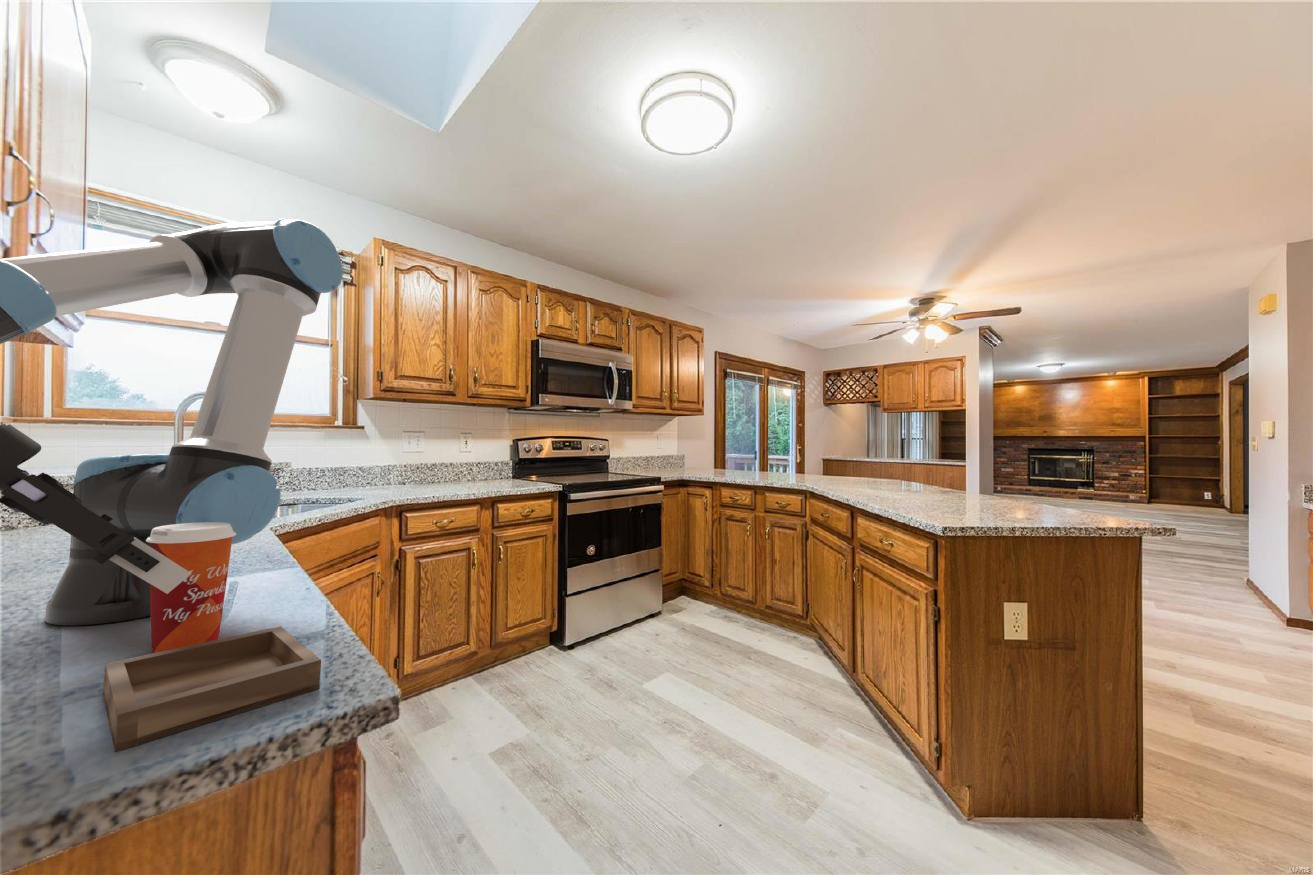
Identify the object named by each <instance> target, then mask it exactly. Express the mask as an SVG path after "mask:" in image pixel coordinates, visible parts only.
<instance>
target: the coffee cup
mask: <svg viewBox="0 0 1313 875" xmlns="http://www.w3.org/2000/svg"><path fill="white" fill-rule="evenodd" d="M235 535H236V533H235V532H234V531H233V528H232V527H231V525H230V523H223V522H198V523H183V524H172V525H165V526H159V527H155V528H153V529H152V531H151V535H150V537H148V538H147V540H146V542H149V543H150V547H151V548H153V549H154V550H156V551H157V552H159V553H160V554H162V555H164V556H165V557H167V558H168V559H170V560H171V561H173V562H175V563H176V564H178V565H179V566H181V567H182V568H184V569H186V570H187V571H189V572H190V573H192V574H190V575H189V576H188V577H187V578H186V579H185V580H183V581H182V582H181V583H180V584H179V585H177V586H176V587H175V588H174V589H173V590H171V591H170V592H169V593H168V594H167V593H165V592H163V591H162V590H160V589H158V588H156V587H155V586H153V585H151V584H150V603H151V616H150V639H151V640H150V641H151V652H152V654H153V653H157V652H162V651H167V650H171V649H176V648H181V647H186V646H190V645H195V644H200V643H204V642H209V641H214V640H219V637H220V632H221V631H220V629H221V624H222V618H223V617H222V616H223V610H224V603H225V595H226V589H227V588H226V587H227V582H228V574H229V567H230V560H231V559H230V557H231V551H232V545H233V544H232V537H233V536H235Z"/></svg>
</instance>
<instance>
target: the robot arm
mask: <svg viewBox="0 0 1313 875" xmlns="http://www.w3.org/2000/svg"><path fill="white" fill-rule="evenodd" d="M343 269H344V268H343V263H342V259H341V257H340V254H339V253H338V251H337V247H336V246H335V244H334V243H333V241H332V240H331V239H330V237H329V236H328V235H327V234H326V233H325V232H324V231H323V230H322V229H320V227H319V226H317V225H315V224H313V223H311V222H308V221H305V220H302V219H301V220H300V219H288V218H279V219H277V220H274V221H273V220H271V221H270V220H269V221H243V222H241V221H240V222H227V223H221V224H215V225H209V226H205V227H201V228H197V229H191V230H186V231H181V232H175V233H168V234H158V235H155V236H154V237H152V238H151V239H150V240H149V242H148V243H140V244H128V245H120V246H112V247H110V246H109V247H101V248H93V249H92V248H91V249H83V250H82V249H81V250H72V251H71V250H69V251H63V252H54V253H53V252H52V253H43V254H34V255H33V254H31V255H23V256H14V257H5V258H0V345H2V344H4V343H6V342H9V341H11V340H13V339H17V338H19V337H21V336H23V335H24V336H27V335H30V334H31V332H33V331H35V330H37V329H39V328H40V327H42V326H44V325H46V324H48V323H50V322H52V321H53V320H54V319H55V318H56V317H59V316H60V317H61V316H65V315H70V314H75V313H80V312H86V311H90V310H96V309H101V308H102V309H103V308H107V307H113V306H117V305H122V304H123V305H124V304H128V303H132V302H137V301H143V300H148V299H154V298H159V297H165V296H169V295H174V294H175V295H176V294H178V295H181V296H182V297H187V298H192V297H193V298H194V297H199V296H203V295H213V294H215V295H216V294H217V295H218V294H236V295H237V296H238V297H237V300H236V301H235V305H234V308H233V311H232V313H231V314H232V315H231V317H230V320H229V322H228V326H227V328H226V331H225V335H224V337H223V339H222V340H223V341H222V343H221V346H220V349H219V352H218V355H217V358H216V360H215V363H214V366H213V369H212V372H211V375H210V379H209V381H208V384H207V386H206V390H205V392H204V396H203V398H202V401H201V404H200V407H199V410H198V414H197V416H196V420H195V422H194V425H193V428H192V430H191V434H190V436H189V437H188V438H186V439H183V440H181V441H179V442H177V443H173V444H172V446H171V448H170V451H169V453H152V454H151V453H149V454H148V453H147V454H146V453H145V454H129V455H108V456H99V457H94V458H93V457H92V458H89V459H86V460H84V461H82V462H81V463H79V464H78V465H77V467H76V472H75V475H74V480H73V483H72V489H73V493H72V492H71V491H69V489H67V488H65V487H64V484H63V483H62V482H61V481H59V480H57V478H54V477H52V476H51V475H49V474H48V473H46V472H41V473H39V474H38V475H36V474H33V473H32V474H30V472H28V471H27V470H25V469H24V470H23V469H21V468H19V467H18V466H20V465H21V464H24V463H26V462H27V461H29V460H30V459H32V458H34V457H35V456H36V455H37V454H38V453H40V451H41V450H42V446H41V444H40V443H38V442H37V441H35V440H34V439H32V438H31V437H29V436H28V435H27V434H25V433H24V432H22V431H20V430H19V429H17V428H16V427H15V426H13V425H11V424H6V423H1V424H0V493H1V495H3V496H1V497H0V503H1V504H2V505H4V506H5V507H7V508H9V509H11V510H13V511H14V512H17V513H20V514H22V513H23V514H25V515H27V516H28V517H29V518H31V519H33V520H35V521H36V522H38V523H40V524H43V525H44V526H45V525H47V526H48V525H51V524H52V525H54V526H56V527H57V528H59V529H60V530H62V531H65V533H67V534H69V535H70V543H69V544H70V546H69V556H68V557H69V560H68V563H67V567H66V568H65V570H64V572H63V573H62V576H60V579H59V581H58V583H57V585H56V588H55V589H54V591H53V593H52V596H51V598H50V599H49V600H48V601H47V603H46V606H45V618H44V621H45V622H46V623H47V624H50V625H56V626H86V625H87V626H88V625H99V624H109V623H117V622H122V621H123V622H124V621H128V620H130V621H131V620H135V619H140V618H145V617H151V603H150V584H151V585H153V586H155V587H156V588H158V589H160V590H162V591H163V592H165V593H167V594H168V593H169V592H170V591H171V590H173V589H174V588H175V587H176V586H177V585H179V584H180V583H181V582H182V581H183V580H185V579H186V578H187V577H188V576H189V575H190V574H192V573H190V572H189V571H187V570H186V569H184V568H182V567H181V566H179V565H178V564H176V563H175V562H173V561H171V560H170V559H168V558H167V557H165V556H164V555H162V554H160V553H159V552H157V551H156V550H154V549H153V548H151V547H150V543H149V542H146V540H147V538H148V537H150V535H151V531H152V529H153V528H155V527H159V526H165V525H172V524H183V523H198V522H223V523H230V525H231V527H232V528H233V531H234V532H235V533H236V535H235V536H233V537H232V545H235V544H240V543H242V542H245V541H248V540H250V539H252V537H254V536H255V535H256V534H258V533H260V532H262V531H264V529H265V528H266V527H267V526H268V525H269V524H270V523H271V521H273V518H275V516H276V514H277V512H278V509H279V506H280V503H281V496H282V495H281V488H280V487H279V486H277V484H278V480H277V479H276V477H275V475H273V474H272V473H271V472H270V469H271V466H272V460H271V458H270V457H269V456H268V454H267V453H266V452H265V450H264V447H265V444H266V441H267V437H268V433H269V431H270V427H271V424H272V421H273V418H274V413H275V410H276V407H277V404H278V400H279V397H280V394H281V390H282V387H283V384H284V380H285V377H286V374H287V369H288V367H289V363H290V360H291V356H292V354H293V351H294V347H295V343H296V340H297V339H296V338H297V337H298V333H299V330H300V327H301V323H302V320H303V317H306V316H307V315H311V314H313V313H315V312H316V311H317V307H318V304H319V301H320V296H321V295H322V294H327V293H331V292H332V291H335V290H336V289H338V288H339V286H340V285H341V283H342V281H343V274H344V271H343Z"/></svg>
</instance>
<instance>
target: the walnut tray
mask: <svg viewBox="0 0 1313 875" xmlns="http://www.w3.org/2000/svg"><path fill="white" fill-rule="evenodd" d="M321 668H322V659H321V658H320V657H319V656H317V655H316V654H315V653H314V652H312V651H311V650H310V649H309V648H308V647H306V646H305V645H304V644H303V643H301V642H300V641H299V640H298V639H297V638H296V637H295V636H293V635H292V634H291V633H289V632H288V631H287V630H286V629H285V628H284V627H282V626H276V627H271V628H267V629H261V630H257V631H254V632H247V633H243V634H238V635H234V636H228V637H224V638H218V640H214V641H209V642H204V643H200V644H195V645H190V646H186V647H181V648H176V649H171V650H167V651H162V652H157V653H153V652H152V653H148V654H144V655H140V656H139V655H138V656H135V657H130V658H125V659H121V660H115V661H111V662H107V663H105V664H104V677H103V679H104V680H103V694H102V695H103V698H104V704H105V709H106V714H107V719H108V723H109V729H110V733H111V738H112V743H113V747H114V752H120V751H123V750H127V749H129V748H133V747H136V746H139V745H141V744H145V743H149V742H153V741H155V740H159V739H161V738H164V737H168V736H171V735H175V734H178V733H181V732H184V731H187V730H190V729H194V728H197V727H200V726H204V725H207V724H210V723H213V722H216V721H219V720H223V719H226V718H230V717H233V716H235V715H238V714H243V713H245V712H248V711H252V710H256V709H258V708H262V707H264V706H268V705H271V704H274V703H278V702H280V701H281V702H282V701H284V700H287V699H290V698H294V697H298V696H300V695H304V694H306V693H309V692H313V691H316V690H319V689H321V687H320V686H321V672H322V671H321Z"/></svg>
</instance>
